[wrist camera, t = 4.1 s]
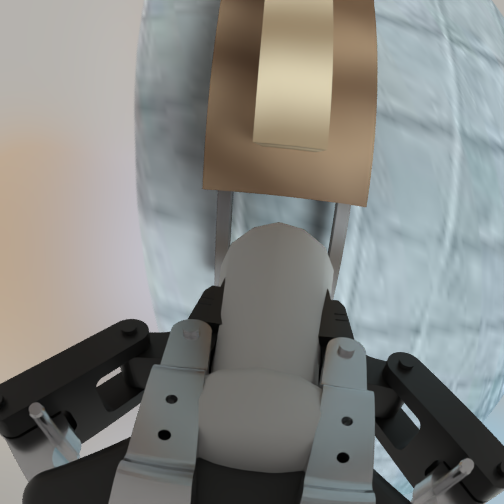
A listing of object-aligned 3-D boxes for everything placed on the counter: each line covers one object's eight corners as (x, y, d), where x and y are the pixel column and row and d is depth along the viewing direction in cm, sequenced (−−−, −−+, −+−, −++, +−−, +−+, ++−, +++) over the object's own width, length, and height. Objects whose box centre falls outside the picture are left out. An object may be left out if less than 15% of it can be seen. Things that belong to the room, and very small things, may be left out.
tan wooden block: (237, 3, 15) (207, -67, 6) (357, 14, 15) (391, -52, 5) (217, 285, 24) (177, 359, 15) (330, 298, 23) (348, 380, 14)
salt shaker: (256, 195, 15) (137, 363, 3) (345, 242, 15) (440, 451, 3) (216, 279, 17) (114, 469, 5) (296, 317, 17) (289, 521, 5)
